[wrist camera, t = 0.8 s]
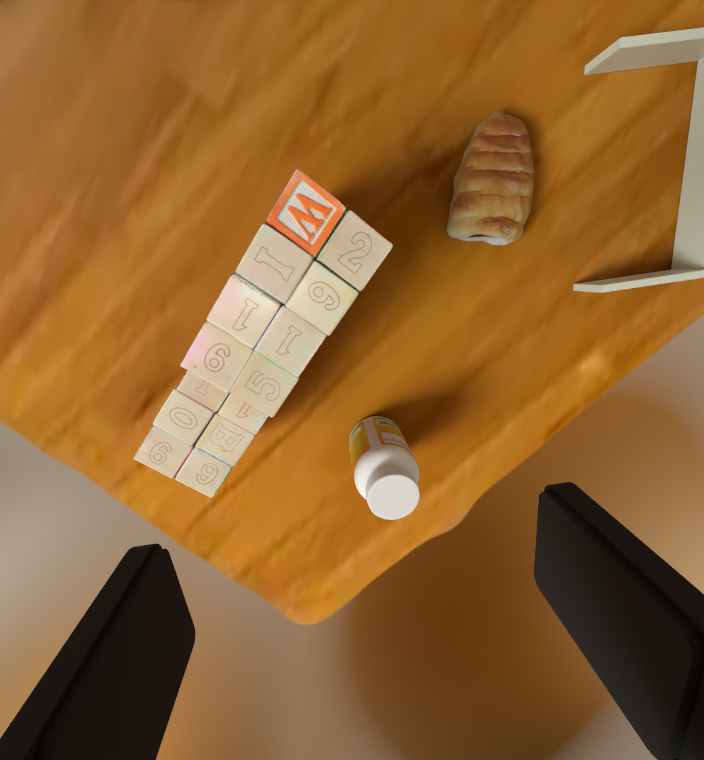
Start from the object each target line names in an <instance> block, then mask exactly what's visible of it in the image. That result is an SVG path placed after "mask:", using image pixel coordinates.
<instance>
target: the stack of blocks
mask: <svg viewBox="0 0 704 760" xmlns="http://www.w3.org/2000/svg"><path fill="white" fill-rule="evenodd" d="M392 247H393V245H392V244H391V243H390V242H389V241H388V240H386V239H385V238H384V237H383V236H381V235H380V234H379V233H378V232H377V231H375V230H374V229H373V228H372V227H371V226H369V225H368V224H367V223H366V222H364V221H363V220H362V219H361V218H360V217H358V216H357V215H356V214H355V213H354V212H352V211H351V210H350V211H347V210H346V207H345V206H344V205H343V204H342V203H341V202H340V201H338V200H337V199H336V198H335V197H333V196H332V195H331V194H330V193H328V192H327V191H326V190H325V189H323V188H322V187H321V186H320V185H318V184H317V183H316V182H315V181H313V180H312V179H311V178H310V177H308V176H307V175H306V174H305V173H303V172H302V171H300V170H299V169H297V170H296V171H295V173H294V175H293V176H292V178H291V179H290V181H289V183H288V185H287V186H286V188H285V190H284V191H283V193H282V195H281V196H280V198H279V200H278V201H277V203H276V205H275V206H274V208H273V210H272V211H271V213H270V215H269V216H268V218H267V221H266V223H264V224H262V226H261V227H260V229H259V231H258V232H257V234H256V236H255V237H254V239H253V241H252V243H251V245H250V246H249V248H248V250H247V251H246V253H245V255H244V257H243V258H242V260H241V262H240V264H239V266H238V267H237V269H236V273H235V274H232V275H231V276H230V278H229V280H228V281H227V283H226V284H225V286H224V288H223V290H222V292H221V294H220V295H219V297H218V299H217V300H216V302H215V304H214V306H213V307H212V309H211V311H210V313H209V314H208V317H207V321H206V322H205V324H204V325H203V326H202V328H201V330H200V331H199V333H198V335H197V337H196V338H195V340H194V342H193V344H192V345H191V347H190V349H189V350H188V352H187V354H186V356H185V357H184V359H183V361H182V362H181V365H180V366H181V367H183V368H185V369H187V371H186V373H185V375H184V376H183V378H182V379H181V381H180V383H179V384H178V386H177V387H176V388H174V389H173V391H172V393H171V394H170V396H169V397H168V399H167V400H166V402H165V404H164V405H163V407H162V408H161V410H160V412H159V413H158V415H157V417H156V418H155V420H154V422H153V427H152V429H151V430H150V432H149V433H148V435H147V437H146V438H145V440H144V441H143V443H142V445H141V446H140V448H139V449H138V451H137V453H136V454H135V456H134V459H135V460H137V461H139V462H141V463H143V464H144V465H146V466H148V467H150V468H152V469H154V470H156V471H158V472H160V473H162V474H164V475H166V476H168V477H170V478H175V479H176V480H177V481H179V482H181V483H183V484H185V485H187V486H189V487H191V488H193V489H195V490H197V491H199V492H200V493H203V494H205V495H206V496H208V497H211V498H212V497H213V496H214V495H215V493H216V492H217V490H218V489H219V487H220V486H221V484H222V483H223V481H224V480H225V478H226V477H227V475H228V474H229V472H230V471H231V469H232V467H234V466H235V465H236V463H237V462H238V460H239V459H240V457H241V456H242V454H243V453H244V451H245V450H246V448H247V447H248V446H249V444H250V443H251V441H252V440H253V438H254V437H255V435H256V434H257V433H258V431H259V430H260V428H261V427H262V425H263V424H264V422H265V421H266V419H267V418H268V416H269V417H271V418H273V417H274V416H275V414H276V413H277V411H278V410H279V408H280V407H281V405H282V404H283V402H284V401H285V399H286V398H287V396H288V395H289V393H290V392H291V390H292V389H293V387H294V386H295V384H296V383H297V381H298V380H299V376H300V375H301V373H302V372H303V370H304V369H305V367H306V366H307V364H308V363H309V362H310V360H311V359H312V357H313V356H314V354H315V353H316V351H317V350H318V348H319V347H320V345H321V344H322V343H323V341H324V339H325V338H326V337H327V336H330V335H331V333H332V332H333V331H334V329H335V328H336V326H337V325H338V323H339V322H340V320H341V319H342V317H343V316H344V314H345V313H346V312H347V310H348V309H349V307H350V306H351V305H352V303H353V302H354V300H355V299H356V298H357V296H358V294H359V292H360V291H362V290H363V289H364V287H365V286H366V284H367V283H368V282H369V280H370V279H371V277H372V276H373V275H374V273H375V272H376V270H377V269H378V268H379V266H380V265H381V263H382V262H383V261H384V259H385V258H386V256H387V255H388V253H389V252H390V251H391V249H392Z"/></svg>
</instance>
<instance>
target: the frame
mask: <svg viewBox="0 0 704 760" xmlns="http://www.w3.org/2000/svg"><path fill="white" fill-rule="evenodd" d="M695 61H698V65H697V73H696V81H695V88H694V96H693V104H692V112H691V119H690V127H689V135H688V142H687V150H686V158H685V166H684V173H683V181H682V189H681V197H680V204H679V212H678V220H677V227H676V235H675V243H674V251H673V258H672V266H671V270H665V271H658V272H651V273H645V274H638V275H631V276H624V277H617V278H611V279H604V280H597V281H590V282H583V283H577V284H574V287H573V291H587V292H601V293H602V292H609V291H616V290H622V289H629V288H636V287H643V286H649V285H656V284H663V283H670V282H676V281H683V280H690V279H697V278H703V277H704V28H696V29H687V30H679V31H671V32H663V33H654V34H646V35H638V36H629V37H621V38H620V39H618V40H617V41H616V42H615V43H613V44H612V45H611V46H609V47H608V48H607V49H606V50H604V51H603V52H602V53H601V54H599V55H598V56H597V57H596V58H594V59H593V60H592V61H590V62H589V63H588V64H587V65H585V72H584V75H590V74H598V73H606V72H614V71H622V70H630V69H638V68H646V67H654V66H662V65H671V64H679V63H687V62H695Z"/></svg>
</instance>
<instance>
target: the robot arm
mask: <svg viewBox="0 0 704 760" xmlns="http://www.w3.org/2000/svg"><path fill="white" fill-rule="evenodd" d="M534 577H535V581H536V584H537V586H538V588H539V589H540V591H541V592H542V594H543V596H544V597H545V598H546V600H547V601H548V603H549V604H550V606H551V607H552V609H553V610H554V612H555V613H556V615H557V616H558V618H559V619H560V621H561V622H562V624H563V625H564V626H565V628H566V629H567V631H568V632H569V634H570V635H571V637H572V638H573V640H574V641H575V643H576V644H577V646H578V647H579V649H580V650H581V652H582V653H583V654H584V656H585V657H586V659H587V660H588V662H589V663H590V665H591V666H592V668H593V669H594V671H595V672H596V673H597V675H598V677H599V678H600V680H601V681H602V682H603V684H604V685H605V687H606V688H607V690H608V691H609V693H610V694H611V696H612V697H613V699H614V700H615V702H616V703H617V705H618V706H619V708H620V709H621V710H622V712H623V713H624V715H625V716H626V718H627V719H628V721H629V722H630V724H631V725H632V727H633V728H634V730H635V731H636V733H637V734H638V735H639V737H640V738H641V740H642V741H643V743H644V744H645V746H646V747H647V749H648V750H649V751H650V753H651V754H652V755H653V756H654V757H655V758H656V759H658V760H704V594H702V593H701V592H700V591H699V590H698V589H697V588H696V587H694V586H693V585H692V584H691V583H690V582H689V581H687V580H686V579H685V578H684V577H683V576H682V575H680V574H679V573H678V572H677V571H676V570H675V569H673V568H672V567H671V566H670V565H669V564H668V563H666V562H665V561H664V560H663V559H662V558H661V557H659V556H658V555H657V554H656V553H655V552H654V551H652V550H651V549H650V548H649V547H648V546H646V545H645V544H644V543H643V542H642V541H641V540H639V539H638V538H637V537H636V536H635V535H634V534H632V533H631V532H630V531H629V530H628V529H627V528H625V527H624V526H623V525H622V524H620V522H618V521H617V520H616V519H615V518H614V517H612V516H611V515H610V514H609V513H608V512H607V511H606V510H604V509H603V508H602V507H601V506H600V505H598V504H597V503H596V502H595V501H594V500H593V499H591V498H590V497H589V496H588V495H587V494H586V493H584V492H583V491H582V490H581V489H580V488H579V487H577V486H576V485H575V484H573V483H571V482H566V483H559V484H553V485H548V486H546V487H545V490H544V492H541V493H540V495H539V505H538V520H537V535H536V550H535V565H534ZM194 642H195V628H194V624H193V621H192V618H191V615H190V613H189V610H188V607H187V604H186V601H185V598H184V595H183V592H182V589H181V586H180V584H179V580H178V577H177V574H176V571H175V569H174V566H173V563H172V560H171V557H170V554H169V552H168V550H167V549H162V548H161V546H160V545H159V544H151V545H144V546H137V547H132V548H131V549H129V550H128V551H127V553H126V554H125V556H124V557H123V558H122V560H121V561H120V563H119V564H118V566H117V567H116V569H115V571H114V572H113V573H112V575H111V576H110V578H109V579H108V581H107V582H106V584H105V585H104V587H103V588H102V590H101V591H100V592H99V594H98V595H97V597H96V598H95V600H94V601H93V603H92V604H91V606H90V607H89V609H88V610H87V612H86V613H85V615H84V616H83V618H82V619H81V621H80V622H79V623H78V625H77V626H76V628H75V629H74V631H73V632H72V634H71V635H70V637H69V638H68V640H67V641H66V643H65V644H64V646H63V647H62V649H61V650H60V651H59V653H58V654H57V656H56V657H55V659H54V661H53V662H52V663H51V665H50V666H49V668H48V669H47V671H46V672H45V674H44V675H43V677H42V678H41V679H40V681H39V682H38V684H37V685H36V687H35V688H34V690H33V691H32V693H31V694H30V696H29V697H28V699H27V700H26V702H25V703H24V705H23V706H22V708H21V709H20V711H19V712H18V714H17V715H16V716H15V718H14V719H13V721H12V722H11V724H10V726H9V727H8V728H7V730H6V731H5V733H4V734H3V736H2V737H1V739H0V760H156V757H157V754H158V751H159V748H160V745H161V742H162V739H163V736H164V733H165V730H166V727H167V724H168V721H169V718H170V715H171V712H172V709H173V706H174V703H175V700H176V697H177V694H178V691H179V688H180V685H181V682H182V679H183V676H184V673H185V670H186V667H187V664H188V661H189V658H190V655H191V652H192V649H193V646H194Z"/></svg>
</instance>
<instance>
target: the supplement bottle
mask: <svg viewBox="0 0 704 760" xmlns="http://www.w3.org/2000/svg"><path fill="white" fill-rule="evenodd" d="M349 448H350V454H351V461H352V467H353V473H354V480H355V484H356V487H357V489H358V491H359V493H360V494H361V495H362V496H363V497H364V498H365V499H366V500H367V502H368V505H369V508H370V509H371V511H372V512H373V513H374V514H375V515H377V516H378V517H380V518H383V519H388V520H394V519H399V518H402V517H405V516H407V515H408V514H409V513H411V512H412V511H413V510H414V509H415V507H416V506H417V504H418V501H419V497H420V493H419V488H418V481H419V469H418V465H417V463H416V460H415V458H414V456H413V454H412V452H411V450H410V448H409V446H408V445H407V442H406V440H405V438H404V436H403V434H402V432H401V431H400V429H399V427H398V426H397V425H396V424H395V423H394V422H393V421H392V420H390V419H388V418H385V417H381V416H372V417H368V418H366V419H363V420H362V421H360V422H359V423H358V424H357V425H356V426H355V427H354V428H353V430H352V432H351V434H350V438H349Z"/></svg>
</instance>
